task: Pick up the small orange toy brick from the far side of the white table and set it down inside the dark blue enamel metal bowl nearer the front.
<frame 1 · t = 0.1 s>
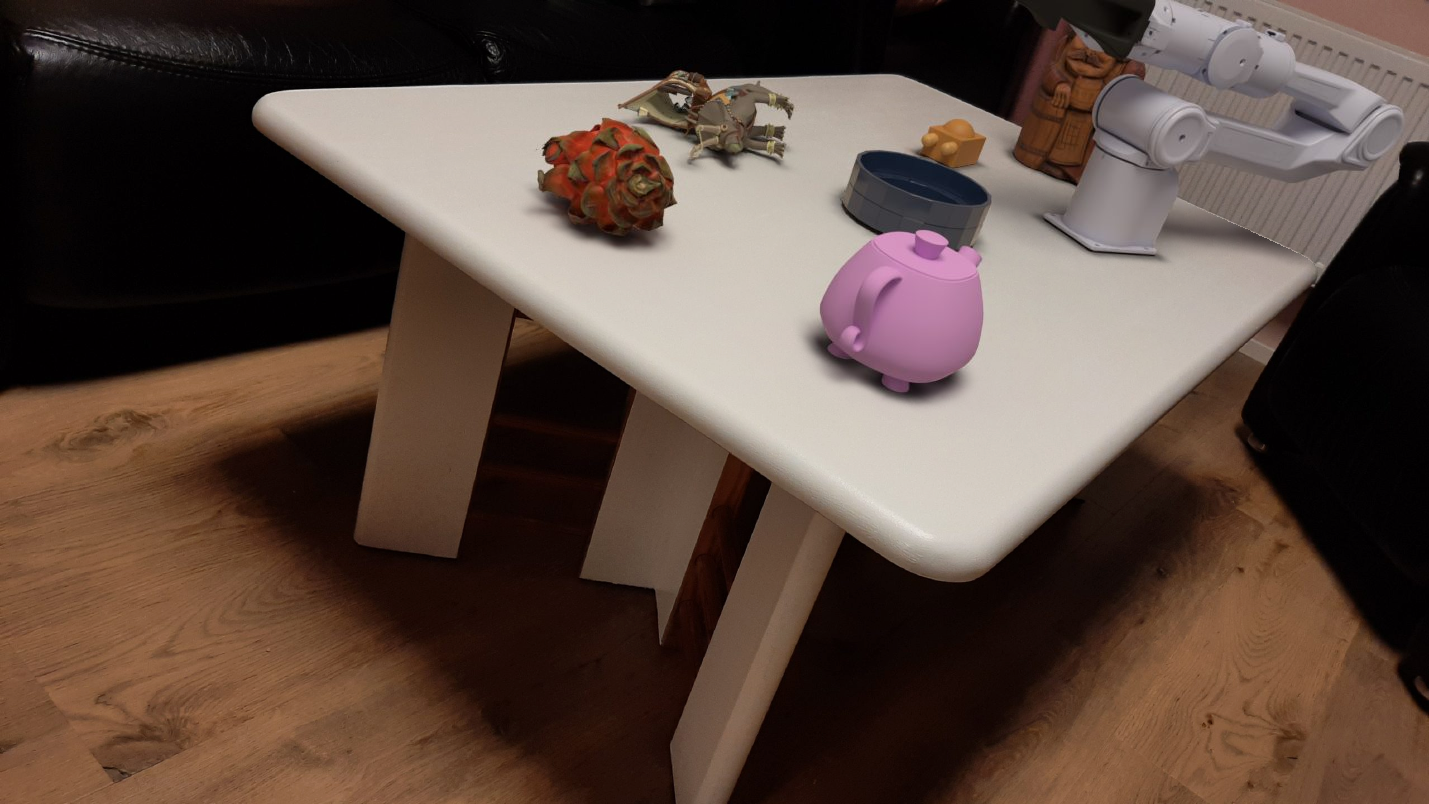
bowl: (907, 222, 97), on the table
figurine: (699, 138, 104), on the table
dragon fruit: (595, 224, 79), on the table
wooden figurine: (1050, 171, 128), on the table
orange toy brick: (948, 158, 120), on the table
teapot: (891, 359, 71), on the table
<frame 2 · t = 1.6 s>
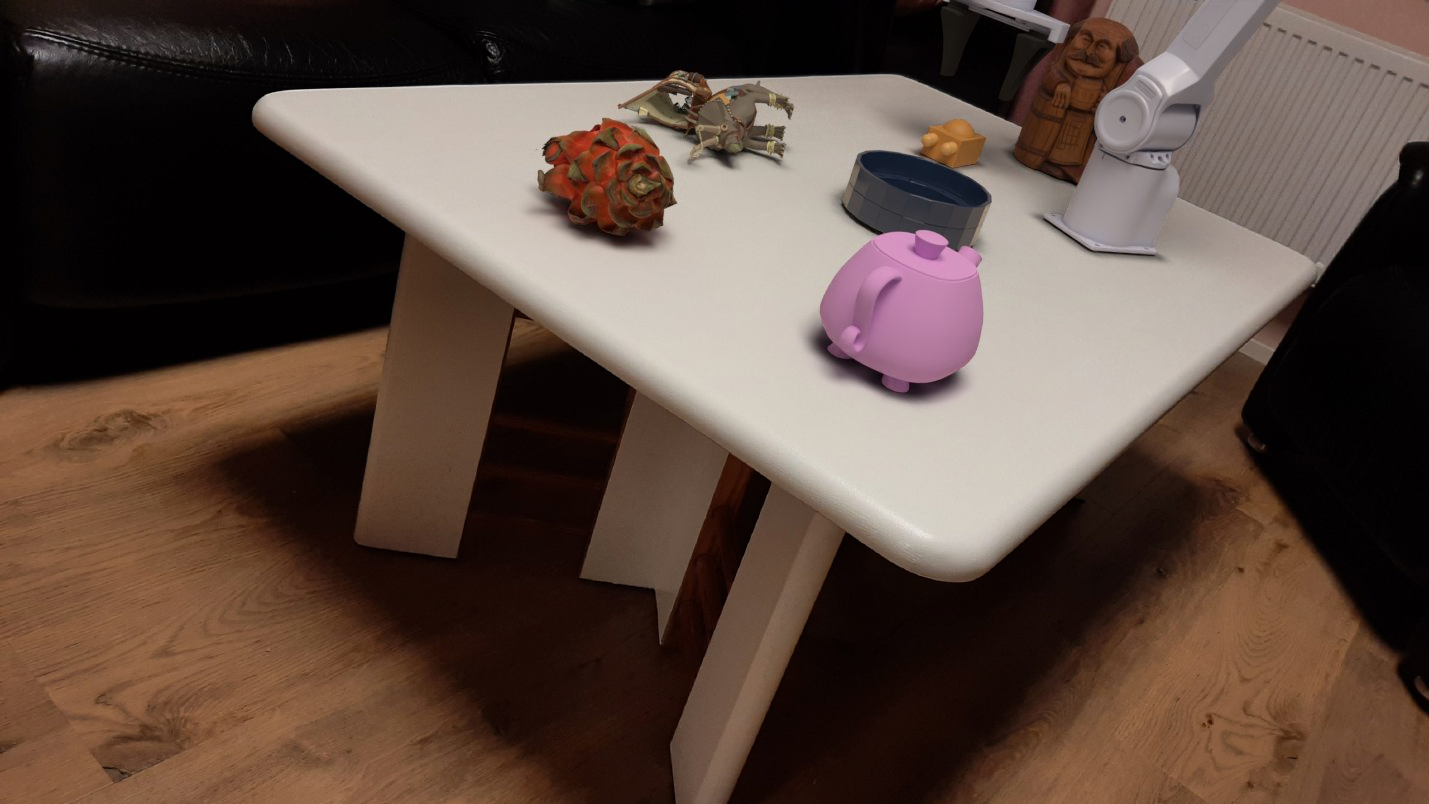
hand: (975, 87, 116), 8 cm above the table, tool pointing down, fingers open, 7 cm apart
nothing on the table moved.
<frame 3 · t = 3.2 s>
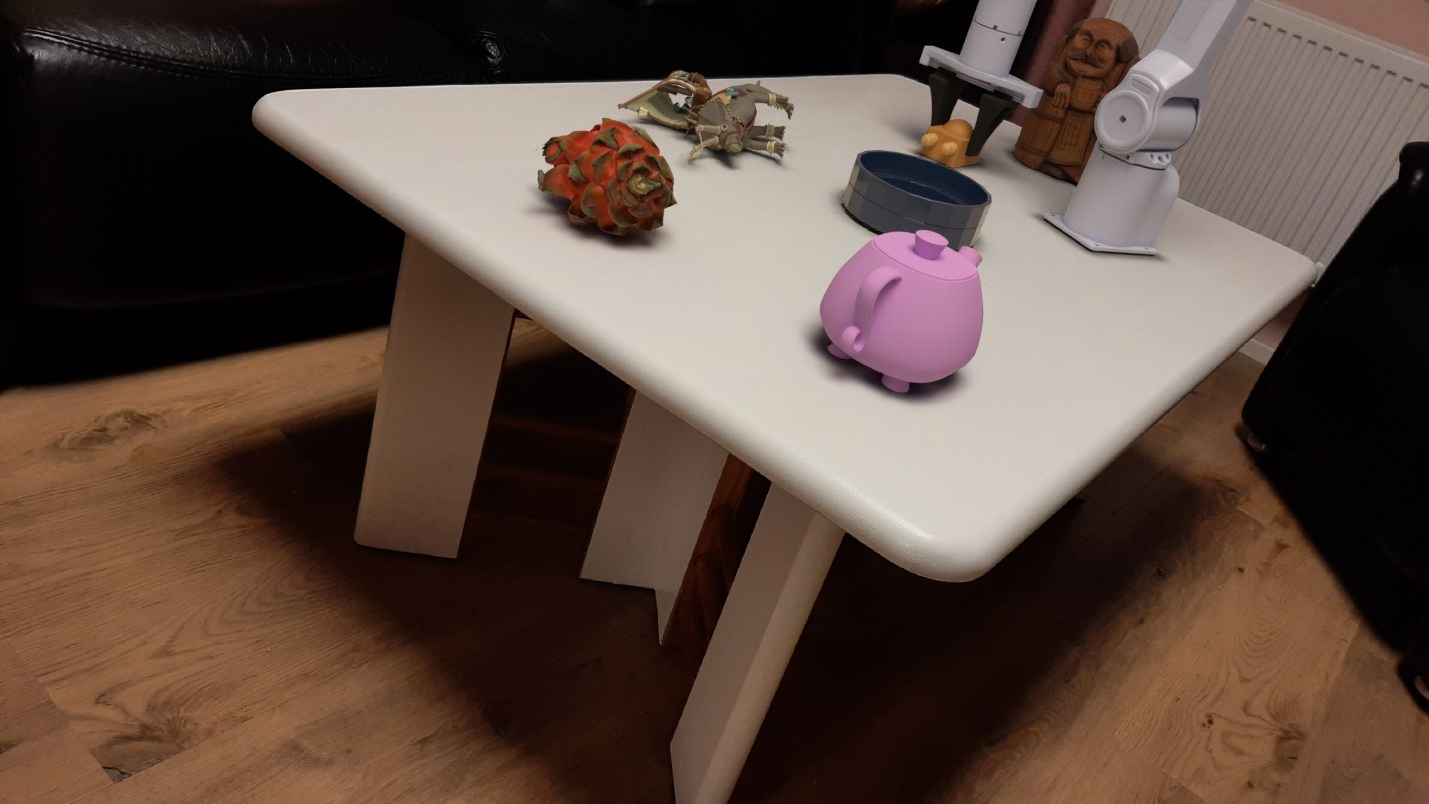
hand: (953, 147, 119), 1 cm above the table, tool pointing down, fingers closed on orange toy brick, 4 cm apart
orange toy brick: (948, 158, 120), on the table, touching gripper
everything else where it was.
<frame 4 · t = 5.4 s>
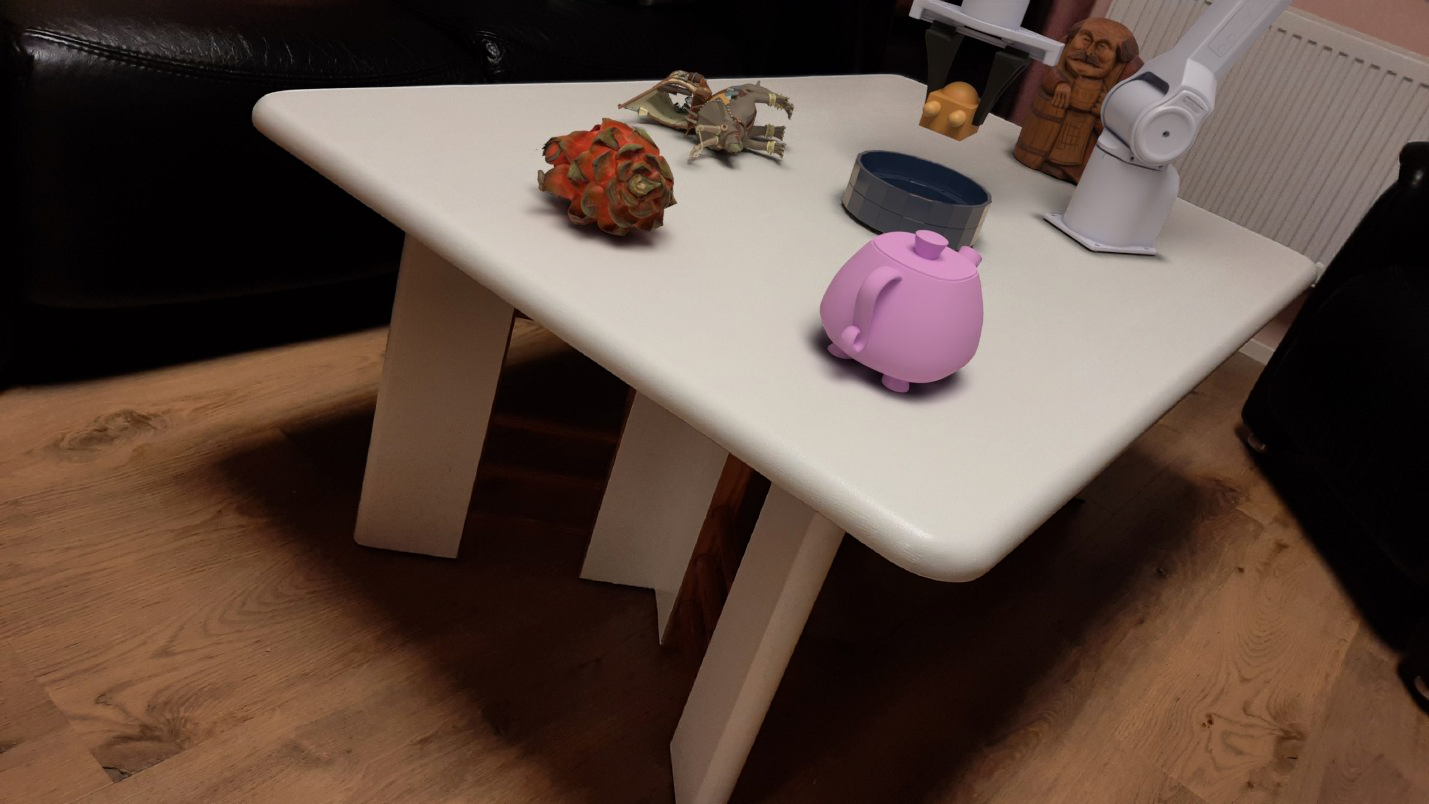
hand: (953, 115, 101), 8 cm above the table, tool pointing down, fingers closed on orange toy brick, 4 cm apart
orange toy brick: (948, 129, 102), point 7 cm above the table, touching gripper
everything else where it was.
when the fingers open (2 cm above the table, at t = 8.0 s): orange toy brick stays where it is, resting on bowl.
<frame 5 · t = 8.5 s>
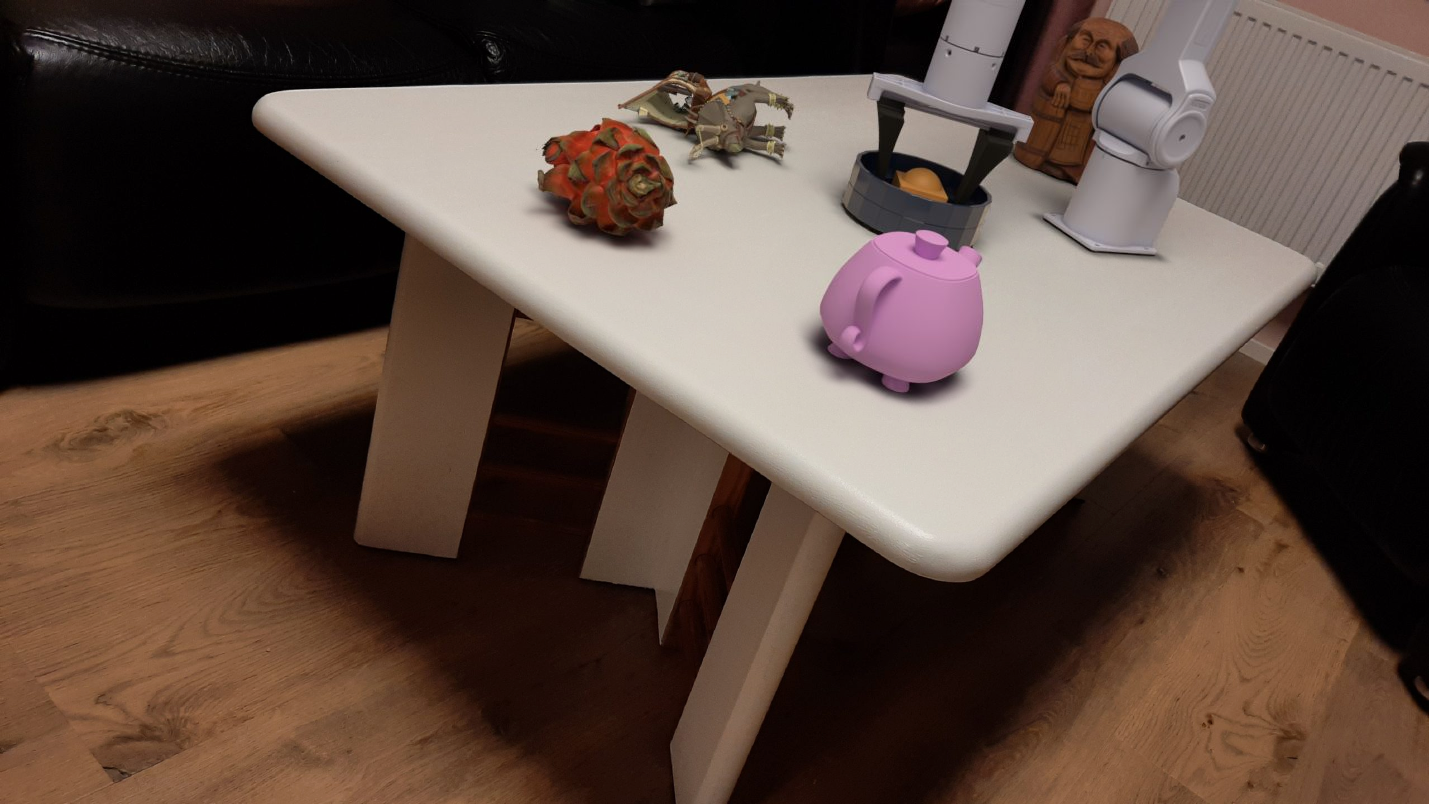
hand: (917, 194, 95), 3 cm above the table, tool pointing down, fingers open, 7 cm apart
orange toy brick: (909, 216, 96), point 1 cm above the table, touching bowl
everything else where it was.
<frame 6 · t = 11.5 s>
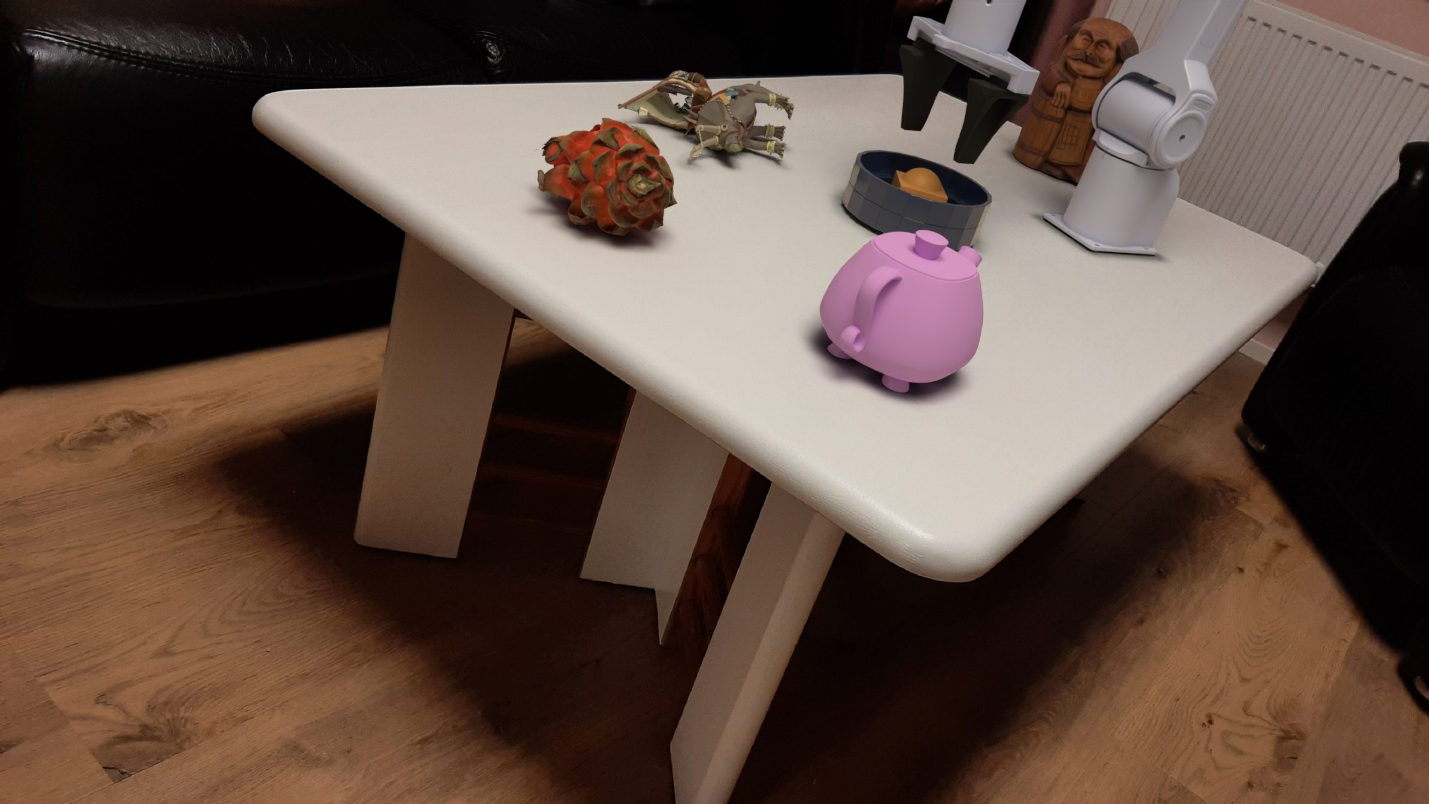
hand: (936, 145, 93), 8 cm above the table, tool pointing down, fingers open, 7 cm apart
nothing on the table moved.
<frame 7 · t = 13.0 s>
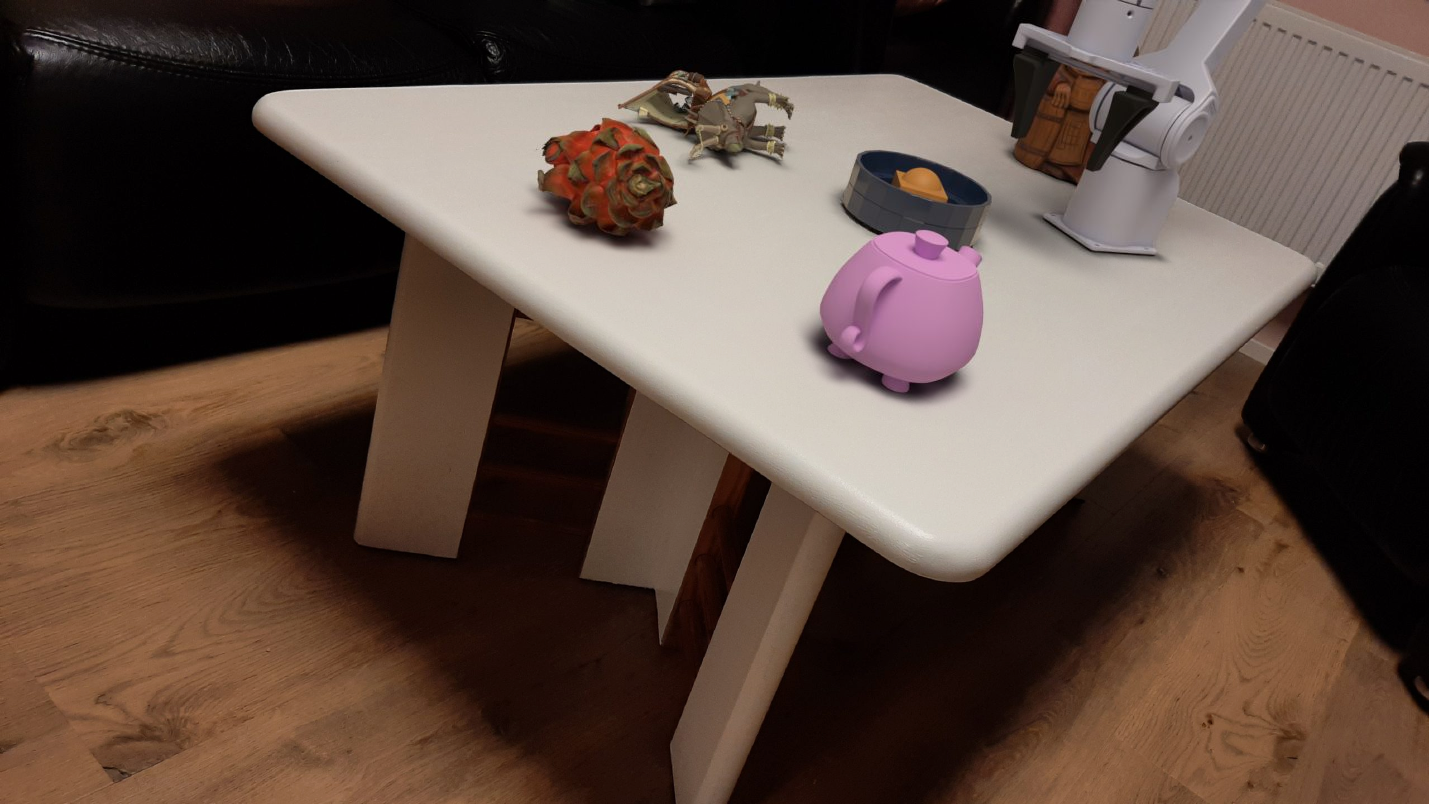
hand: (1054, 153, 94), 9 cm above the table, tool pointing down, fingers open, 7 cm apart
nothing on the table moved.
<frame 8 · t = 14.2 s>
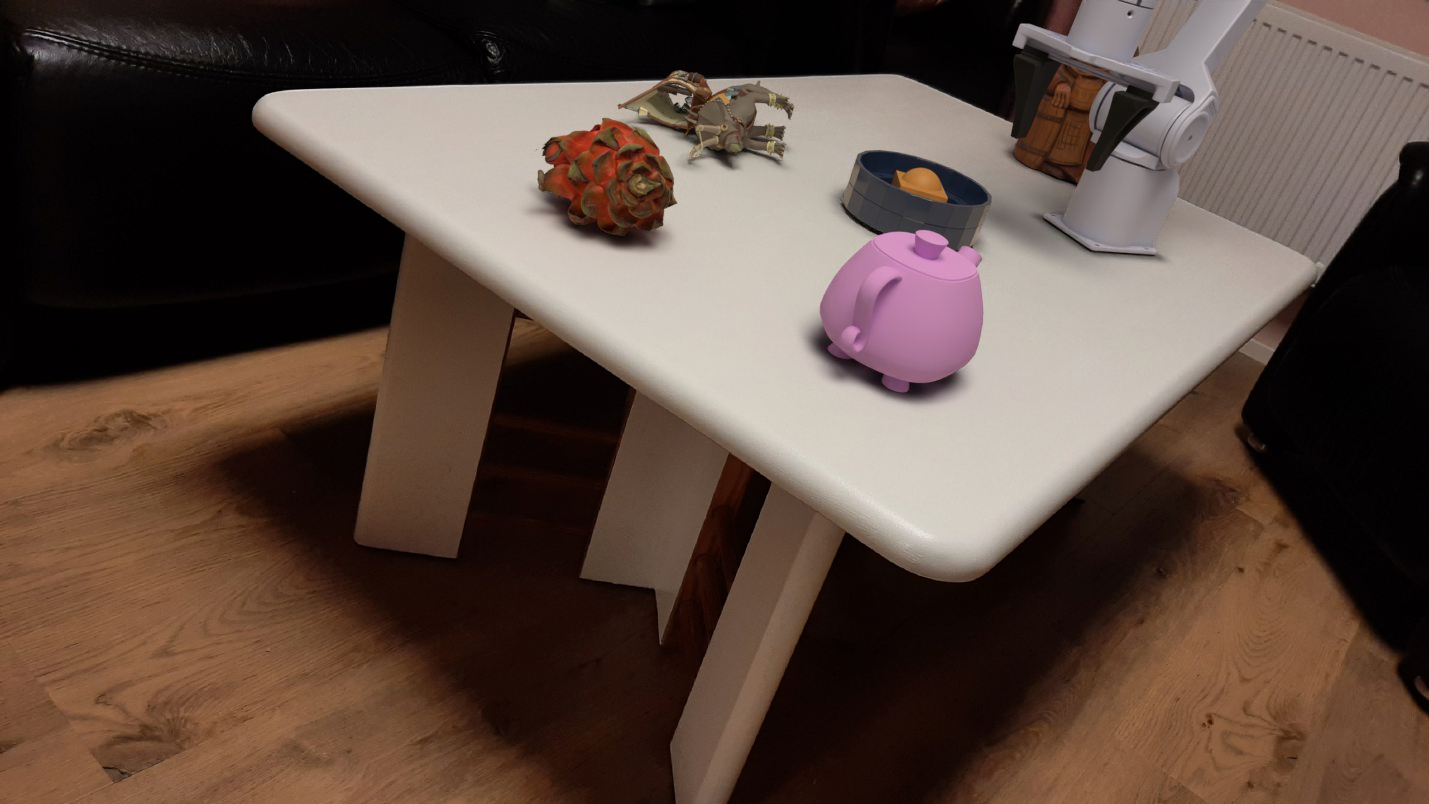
hand: (1054, 153, 94), 9 cm above the table, tool pointing down, fingers open, 7 cm apart
nothing on the table moved.
at the end: orange toy brick inside the target area in the bowl (0.1 cm from its centre), point 0.6 cm above the bowl's base; the gripper is holding nothing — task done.
